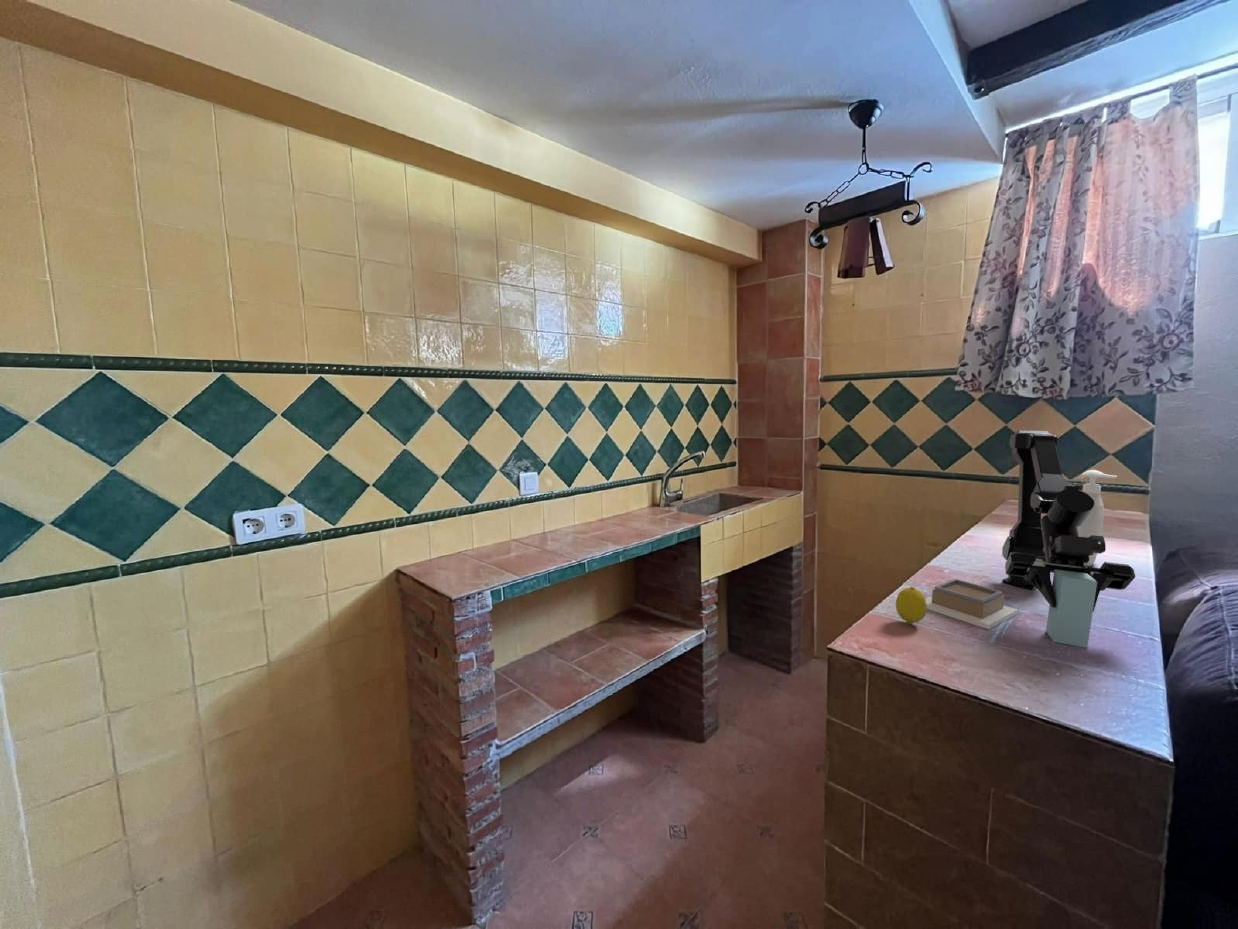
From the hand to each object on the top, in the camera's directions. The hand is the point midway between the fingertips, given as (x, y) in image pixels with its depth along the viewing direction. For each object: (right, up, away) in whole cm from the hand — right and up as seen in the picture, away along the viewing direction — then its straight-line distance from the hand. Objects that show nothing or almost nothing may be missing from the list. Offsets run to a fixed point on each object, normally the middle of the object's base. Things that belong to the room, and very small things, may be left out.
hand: (1072, 609), depth 96 cm
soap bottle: (+48, -1, +49) cm, 68 cm away
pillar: (+1, -6, +2) cm, 7 cm away
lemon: (-26, -6, +9) cm, 28 cm away
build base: (-9, -5, +16) cm, 19 cm away
